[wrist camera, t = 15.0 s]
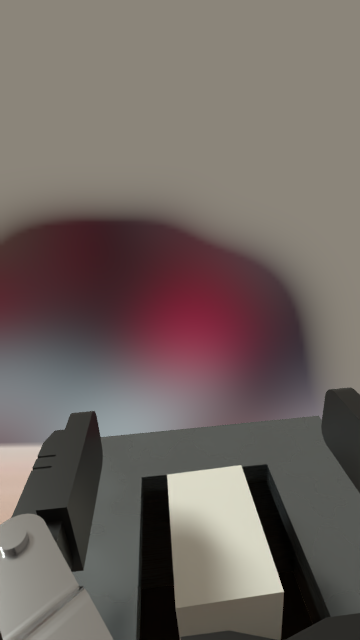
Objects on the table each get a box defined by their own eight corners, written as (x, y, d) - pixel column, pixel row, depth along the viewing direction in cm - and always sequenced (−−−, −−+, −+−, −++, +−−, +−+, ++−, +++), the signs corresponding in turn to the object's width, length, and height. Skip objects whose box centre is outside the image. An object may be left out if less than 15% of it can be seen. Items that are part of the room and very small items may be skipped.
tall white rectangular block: (270, 791, 14) (283, 591, 9) (202, 804, 14) (175, 608, 9) (243, 655, 18) (241, 465, 13) (190, 663, 18) (167, 474, 13)
